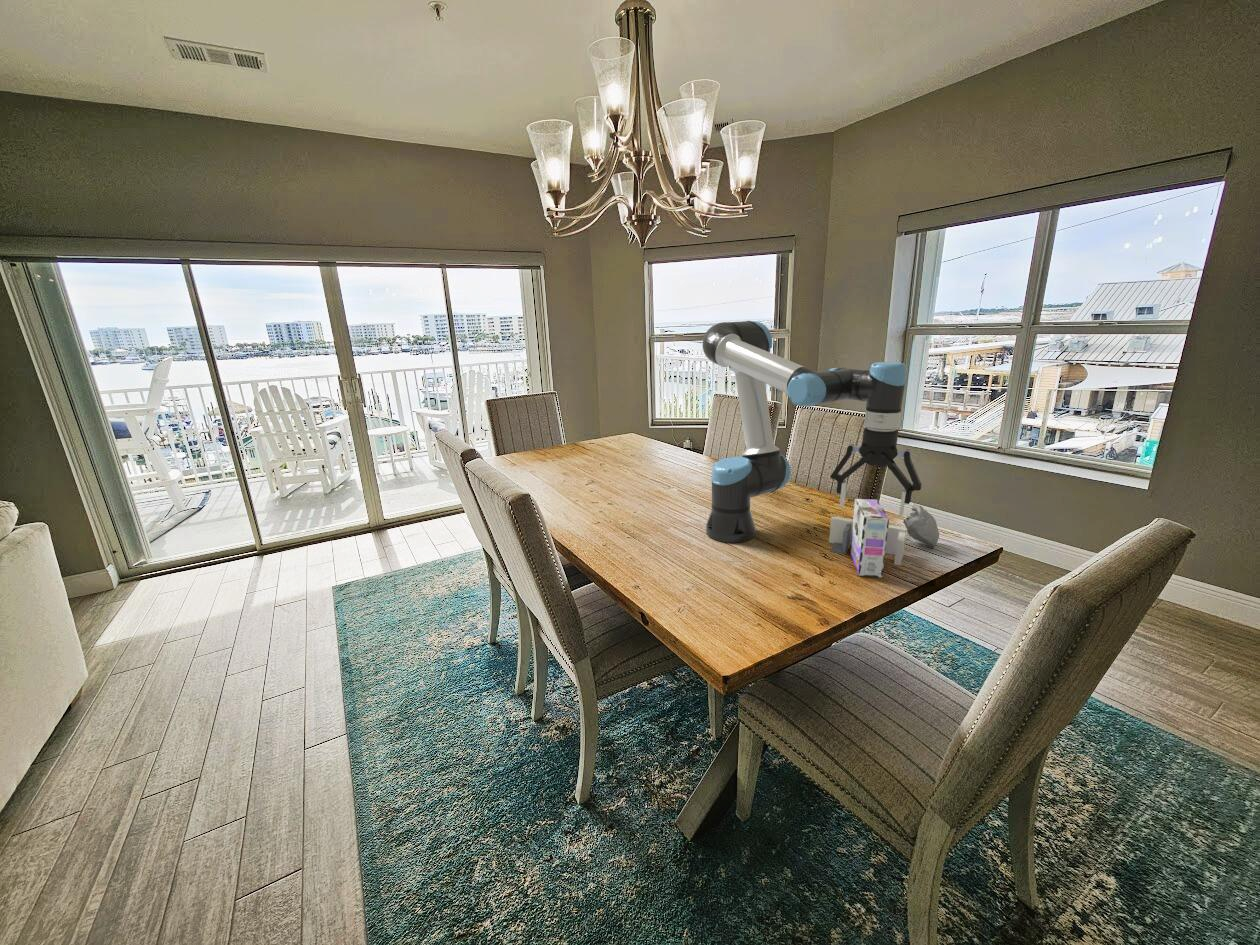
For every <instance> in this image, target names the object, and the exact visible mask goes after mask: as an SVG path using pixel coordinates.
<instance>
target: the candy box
mask: <svg viewBox="0 0 1260 945" xmlns="http://www.w3.org/2000/svg"><path fill="white" fill-rule="evenodd" d="M853 504H854V505H853V513H852V514H853V516H852V518H853V527H852V539H851V547H850V553H849V554H850V556H851V559H852V562H853V564H854V567H855V570H856V572H857V574H858V576H861V577H870V578H871V577H872V578H883V574H884V565H885V557H886V556H885V555H886V553H885V549H886V541H887V533H888V525H889V523H890V517H889V515H888V514H887V513H886V511H885V509H884V508H883V507H882V505H881V503H880V502H879V501H878V499H876V498H875V499H870V498H854V502H853Z"/></svg>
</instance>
